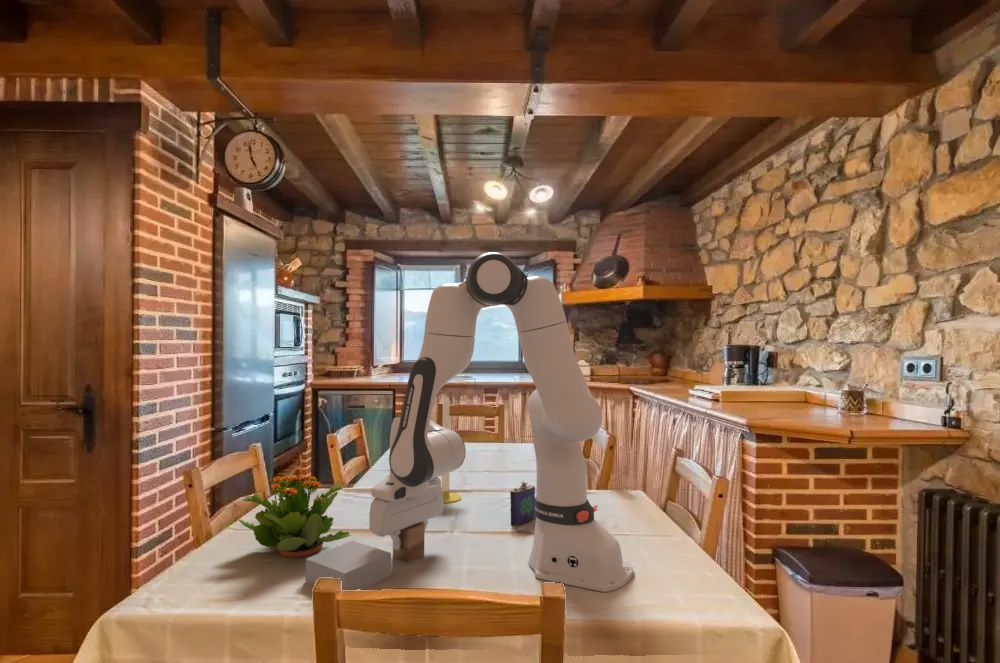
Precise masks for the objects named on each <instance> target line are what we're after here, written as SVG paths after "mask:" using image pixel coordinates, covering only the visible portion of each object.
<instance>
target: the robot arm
mask: <svg viewBox="0 0 1000 663" xmlns="http://www.w3.org/2000/svg"><path fill="white" fill-rule="evenodd" d="M500 305H503V306H506V307H508V309H509V310H510V312H511V313H512V315H513V320H514V323H515V327H516V331H517V332H516V333H517V336H518V340H519V341H518V342H519V344H520V349H521V353H522V357H523V361H524V365H525V366H524V367H525V368H526V370H527V371H528V373H529V375H530V376H531V379H532V381H533V384H534V387H535V388H536V389H535V390H533V391H532V392H531V393H530V395H529V397H528V399H527V402H526V404H527V405H526V410H527V414H528V416H529V420H530V428H531V435H532V442H533V447H534V455H535V461H536V462H535V464H536V496H535V504H534V516H535V519H534V521H535V527H534V536H533V543H532V547H531V551H530V554H529V558H528V565H529V567H530V568H532V570H533V571H534V576H535V578H537V579H539V580H544V581H549V582H553V583H558V582H563V583H566V584H565V585H569V586H573V587H578V588H584V589H587V590H593V591H598V592H602V593H607V592H611V591H614V590H617V589H619V588H621V587H623V586H625V585H626V584H627V583H629V581H630V580H631V579H632V577H633V576H634V568H633V565H632V564H631V563H628V562H626V561H623V555H622V549H621V545H620V543H619V541H618V540H617V539H616V538H615V537H614V536H613V535H612V534H611V533H609V531H608V530H606V528H604V526H603V525H602V524H600V522H598V521H597V519H595V513H596V512H597V511H598V504H596V505H593V506H592V505H591V504H590V502H589V500H588V495H587V494H588V493H587V492H588V485H587V484H588V483H587V482H588V479H587V478H588V465H587V462H586V459H585V457H584V454H583V450H582V447H581V442H585V441H588V440H591V439H592V438H594V436H596V435H597V433H598V432H599V431H600V428H601V426H602V423H603V411H602V408H601V406H600V404H599V403H598V401H597V400H596V399H595V397H594V396H593V394H592V393H591V392H592V391H591V390H590V388H589V386H588V383H587V381H586V378H585V376H584V373H583V372H582V369H581V367H580V364H579V362H578V359H577V357H576V354H575V351H574V346H573V343H572V340H571V334H570V331H569V330H570V329H569V326H568V322H567V321H568V320H567V318H566V314H565V310H564V307H563V303H562V302H561V298H560V295H559V293H558V291H557V288H556V287H555V283H553V281H552V280H551V279H550V278H547V277H545V276H541V275H535V276H527V275H526V274H525V273H524V272H523V271H522V269H521V268H520V267H519V266H518V265H517V264H516V263H515V262H514V260H512V258H511V257H509V256H507V255H505V254H503V253H502V252H498V251H497V252H495V251H492V252H491V251H489V252H485V253H482V254H481V255H479V256H477V257H476V258H475V259H474V260H473V261H472V263H471V264H470V265H469V267H468V271H467V274H466V277H465V279H464V280H463V281H461V282H448V283H443V284H441V285H438V286H437V287H436V288H434V290H433V291H432V293H431V296H430V300H429V302H428V307H427V312H426V316H425V323H424V332H423V341H422V346H421V349H420V352H419V354H418V358H417V359H416V362H415V363H414V364H413V365H412V368H411V369H410V373H409V377H408V380H407V385H406V389H405V390H406V391H405V394H404V399H403V404H402V409H401V413H400V414H399V415H397V416H395V417H394V418H393V420H392V424H391V429H390V435H389V455H388V456H389V457H388V463H389V475H388V476H385V478H384V479H383V480H381V481H380V482H379V483H378V482H377V484H375V485H374V486H373V487H372V488H371V490H370V492H371V496H372V497H373V498H374V499H372V501H371V502H370V508H369V531H370V532H371V533H372V535H375V536H377V537H381V538H383V537H386V536H389V537H390V538H391V540H392V549H393V548H394V549H396V550H399V549H401V548H403V540H400V538H399V536H398V535H400V530H402V529H404V528H407V527H409V526H412V525H415V524H417V523H422V524H425V528H424V532H425V531H426V529H427V526H428V523H429V522H428V521H429V520H430V519H433V518H436V517H438V516H441V515H442V513H443V512H444V505H445V503H444V502H443V493H442V488H441V483H442V479H441V478H439V477H442V475H444V474H446V473H449V472H450V473H452V472H454V471H455V470H457V469H459V468H461V467H462V465H463V463H464V461H465V459H466V458H465V457H466V452H467V451H466V450H467V449H466V445H465V442H464V439H463V437H462V435H460V434H459V433H458V431H455V430H454V429H450V428H449V429H447V428H444V427H443V425H442V426H441V425H440V424H438V423H436V422H435V421H433V420H432V419H431V418H432V412H433V407H434V402H435V399H436V397H437V395H438V393H439V391H440V390H441V389H442V388H443V386H445V385H446V384H447V383H448V382H450V380H452V379H453V378H455V377H457V376H459V375H460V374H461V373H463V372H464V371H465V370H466V369H467V368H468V367H469V365H470V364H471V361H472V359H473V355H474V350H475V340H476V328H477V327H476V326H477V319H478V315H479V313H480V311H481V310H482V309H483V308H488V307H494V306H495V307H496V306H500ZM563 583H562V584H563Z"/></svg>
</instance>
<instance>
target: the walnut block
mask: <svg viewBox="0 0 1000 663" xmlns="http://www.w3.org/2000/svg"><path fill="white" fill-rule="evenodd" d="M424 528H425V524H422V523H417V524H415V525H412V526H409V527H407V528H404V529H402V530H400V535H398V536H399V538H400V540H403V548H401V549H399V550H396V549H394V548H393V547H392V558H395V559H398V560H401V561H404V562H406V563H409V562H412V561H414V560H417V559H418V558H421V557H423V556H425V531H424Z"/></svg>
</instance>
